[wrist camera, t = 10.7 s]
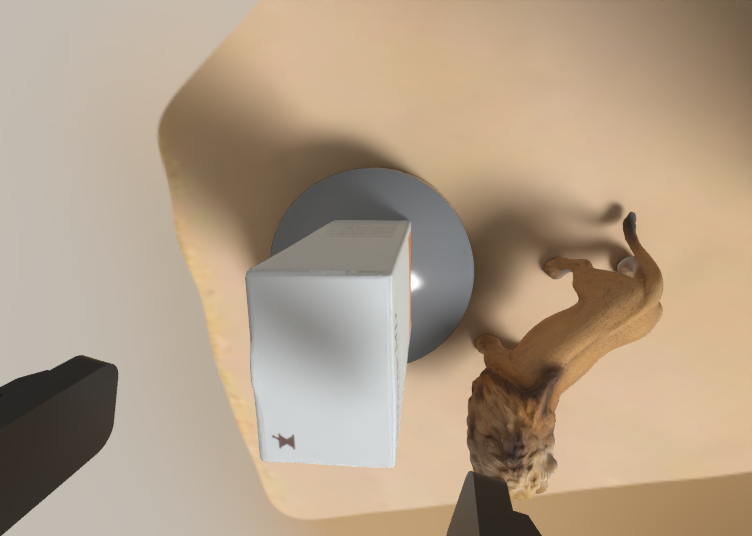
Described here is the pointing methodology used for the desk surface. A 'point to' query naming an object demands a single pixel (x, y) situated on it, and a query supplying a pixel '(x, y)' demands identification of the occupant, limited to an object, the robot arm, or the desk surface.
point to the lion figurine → (555, 365)
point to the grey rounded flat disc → (428, 241)
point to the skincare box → (332, 344)
